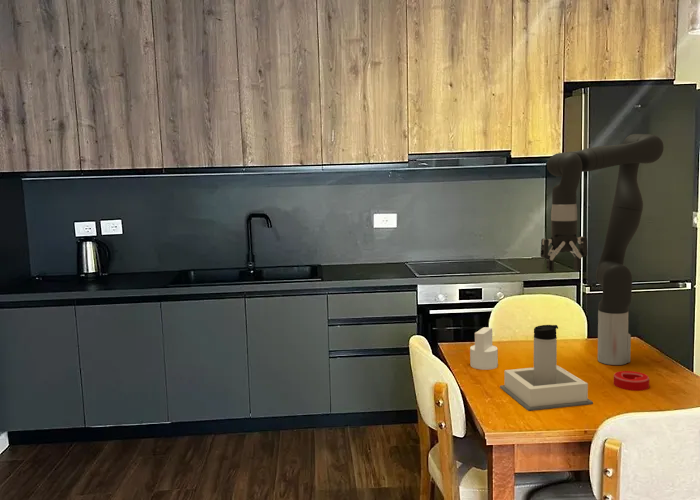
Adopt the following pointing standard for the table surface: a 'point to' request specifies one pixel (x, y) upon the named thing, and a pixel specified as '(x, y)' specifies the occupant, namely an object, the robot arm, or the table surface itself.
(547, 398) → the square shallow tray
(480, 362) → the cylinder with rectangular tab
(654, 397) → the table surface
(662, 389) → the table surface
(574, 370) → the table surface
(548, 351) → the travel mug
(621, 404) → the table surface
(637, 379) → the decorative ornament
